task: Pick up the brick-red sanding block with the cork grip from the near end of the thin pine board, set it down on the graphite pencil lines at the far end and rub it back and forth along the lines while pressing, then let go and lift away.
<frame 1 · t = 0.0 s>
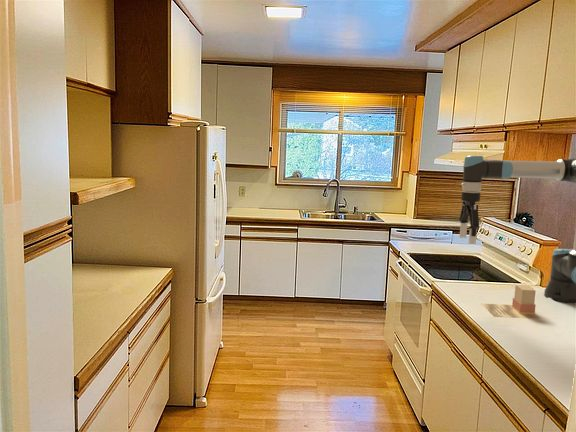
hand: (467, 240, 208), 28 cm above the counter, tool pointing down, fingers open, 13 cm apart
board: (509, 311, 200), on the counter
sanding block: (523, 310, 201), resting on board
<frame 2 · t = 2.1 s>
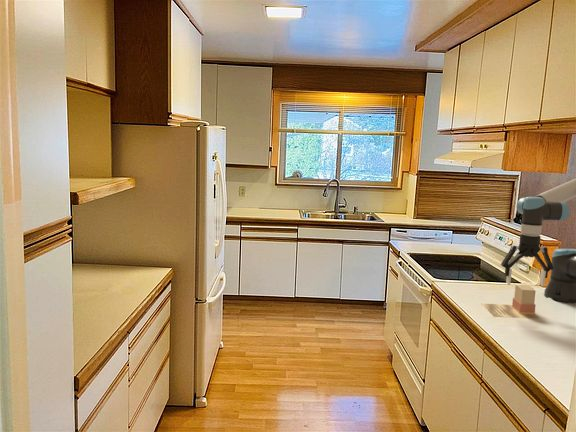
hand: (524, 284, 199), 12 cm above the counter, tool pointing down, fingers open, 13 cm apart
nothing on the counter moved.
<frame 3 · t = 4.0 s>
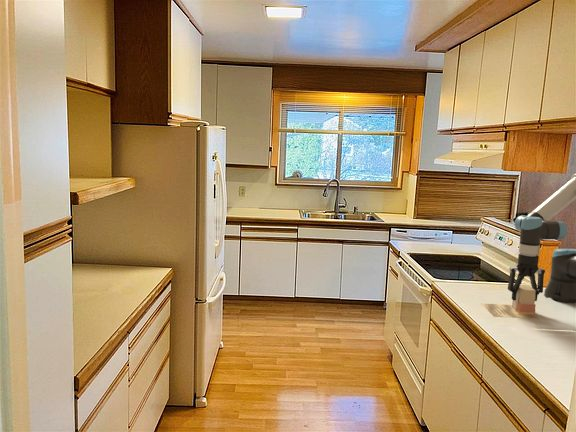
hand: (523, 307, 201), 2 cm above the counter, tool pointing down, fingers closed on sanding block, 6 cm apart
sanding block: (523, 310, 201), resting on board, touching gripper
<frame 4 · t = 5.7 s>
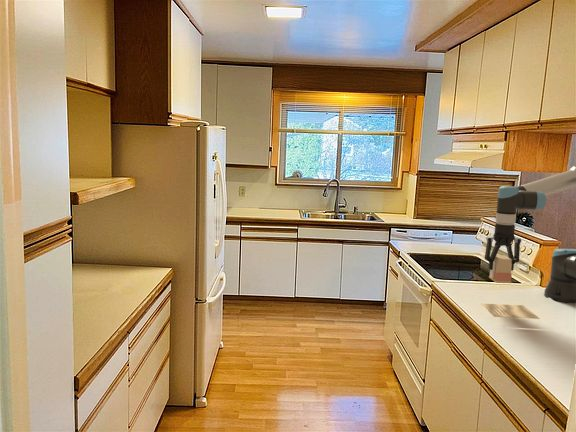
hand: (500, 277, 201), 14 cm above the counter, tool pointing down, fingers closed on sanding block, 6 cm apart
sanding block: (499, 280, 201), point 13 cm above the counter, touching gripper
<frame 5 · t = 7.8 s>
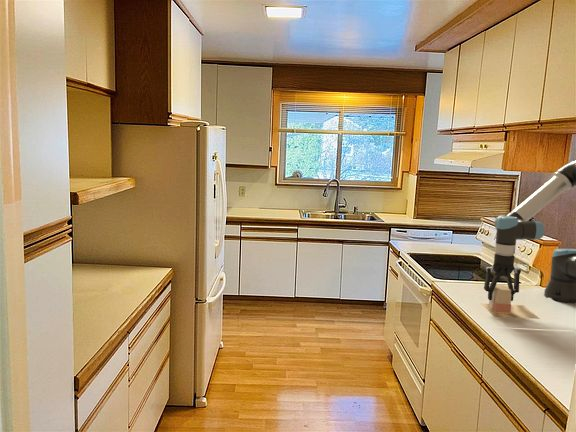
hand: (499, 307, 200), 2 cm above the counter, tool pointing down, fingers closed on sanding block, 6 cm apart
sanding block: (499, 310, 200), point 1 cm above the counter, touching gripper
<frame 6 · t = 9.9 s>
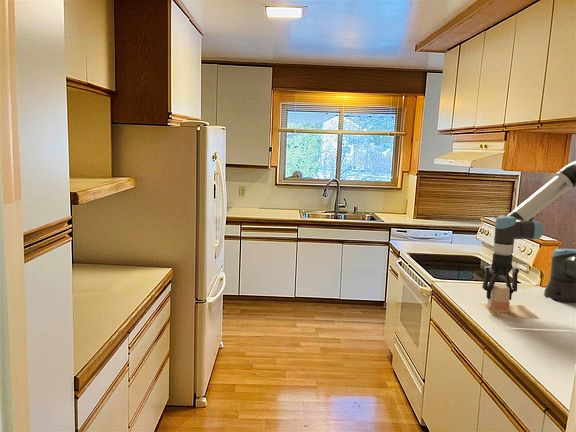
hand: (498, 306, 202), 2 cm above the counter, tool pointing down, fingers closed on sanding block, 6 cm apart
sanding block: (497, 308, 202), point 1 cm above the counter, touching gripper
when the fingers open (2 cm above the counter, at t = 11.5 s): sanding block stays where it is, resting on board.
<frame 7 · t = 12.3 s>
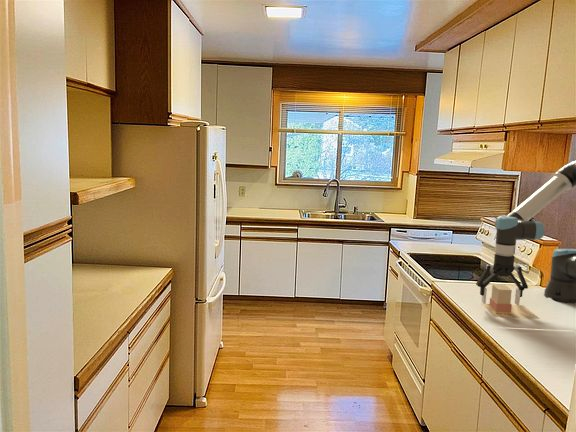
hand: (500, 303, 200), 3 cm above the counter, tool pointing down, fingers open, 13 cm apart
sanding block: (499, 310, 200), point 1 cm above the counter, touching board
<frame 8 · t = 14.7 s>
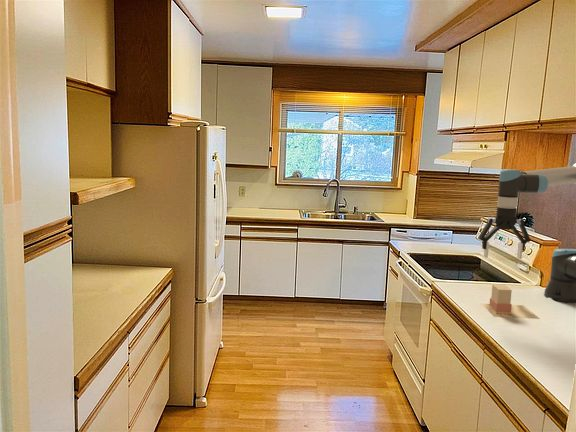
hand: (502, 257, 199), 23 cm above the counter, tool pointing down, fingers open, 13 cm apart
nothing on the counter moved.
at the end: sanding block inside the target area on the board (0.6 cm from its centre), point 0.5 cm above the board's base; sanding block moved 10.0 cm from its start; the gripper is holding nothing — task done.
